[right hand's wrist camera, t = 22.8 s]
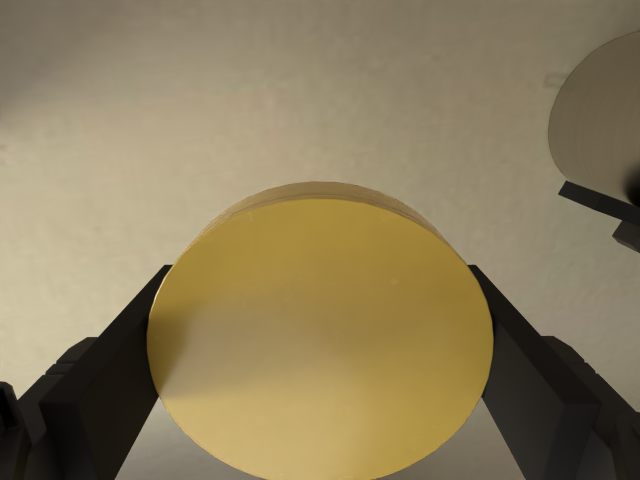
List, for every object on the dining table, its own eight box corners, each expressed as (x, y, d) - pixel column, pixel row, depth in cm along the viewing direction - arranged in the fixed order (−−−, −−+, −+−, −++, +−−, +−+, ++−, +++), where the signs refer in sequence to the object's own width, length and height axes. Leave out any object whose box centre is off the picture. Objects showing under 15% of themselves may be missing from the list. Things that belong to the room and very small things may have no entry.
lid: (530, 318, 12) (565, 356, 11) (328, 475, 15) (329, 527, 13) (308, 106, 10) (305, 108, 8) (113, 334, 13) (79, 374, 11)
